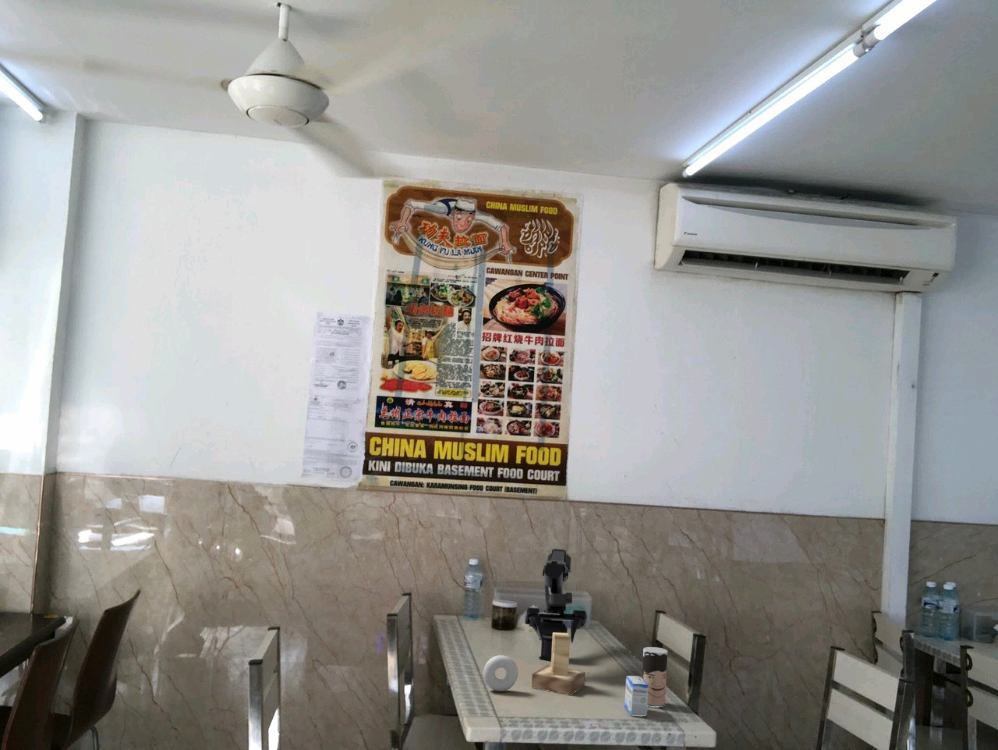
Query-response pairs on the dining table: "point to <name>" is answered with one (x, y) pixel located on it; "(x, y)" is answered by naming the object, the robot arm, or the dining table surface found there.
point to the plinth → (558, 680)
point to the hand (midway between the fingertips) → (557, 641)
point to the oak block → (560, 653)
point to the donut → (493, 666)
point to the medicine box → (636, 695)
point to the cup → (655, 674)
